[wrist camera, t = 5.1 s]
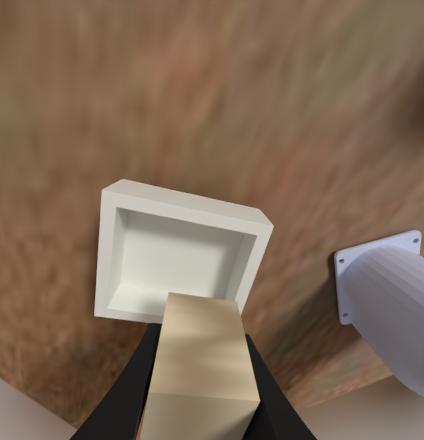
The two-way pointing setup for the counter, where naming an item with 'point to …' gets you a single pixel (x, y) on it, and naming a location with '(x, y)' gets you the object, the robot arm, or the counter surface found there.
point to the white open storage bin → (173, 250)
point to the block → (200, 373)
